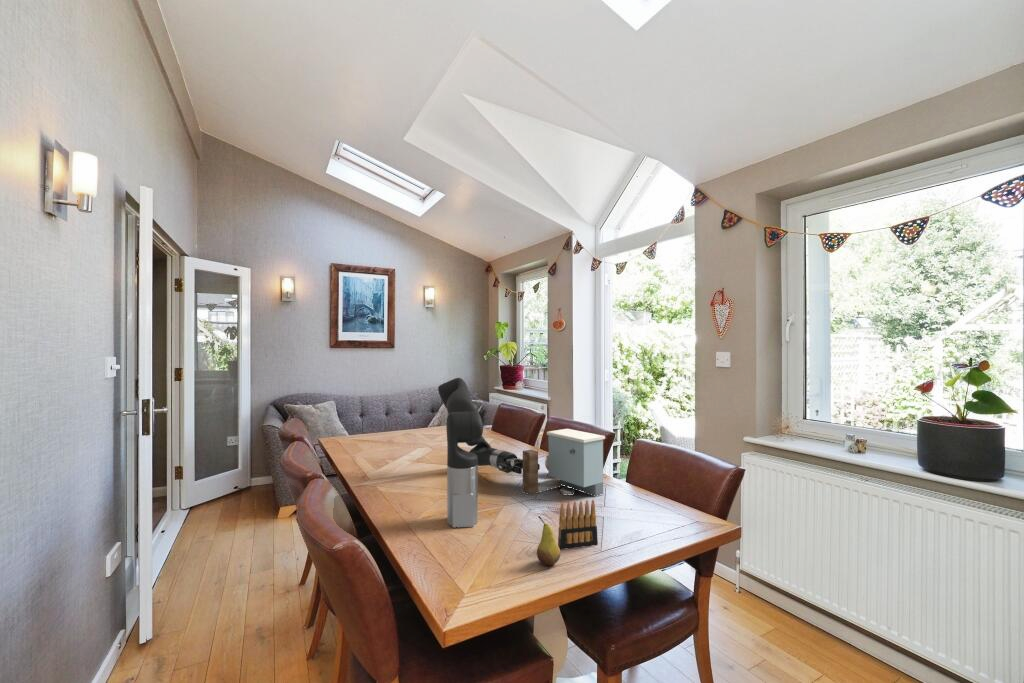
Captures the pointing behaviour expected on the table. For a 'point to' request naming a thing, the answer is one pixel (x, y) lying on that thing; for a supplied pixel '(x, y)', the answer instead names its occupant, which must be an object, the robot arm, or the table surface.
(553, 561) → the fruit
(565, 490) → the steel puck
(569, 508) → the ammunition clip
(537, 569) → the table surface
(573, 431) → the cabinet
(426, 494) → the table surface
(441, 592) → the table surface
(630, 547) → the table surface
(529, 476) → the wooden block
